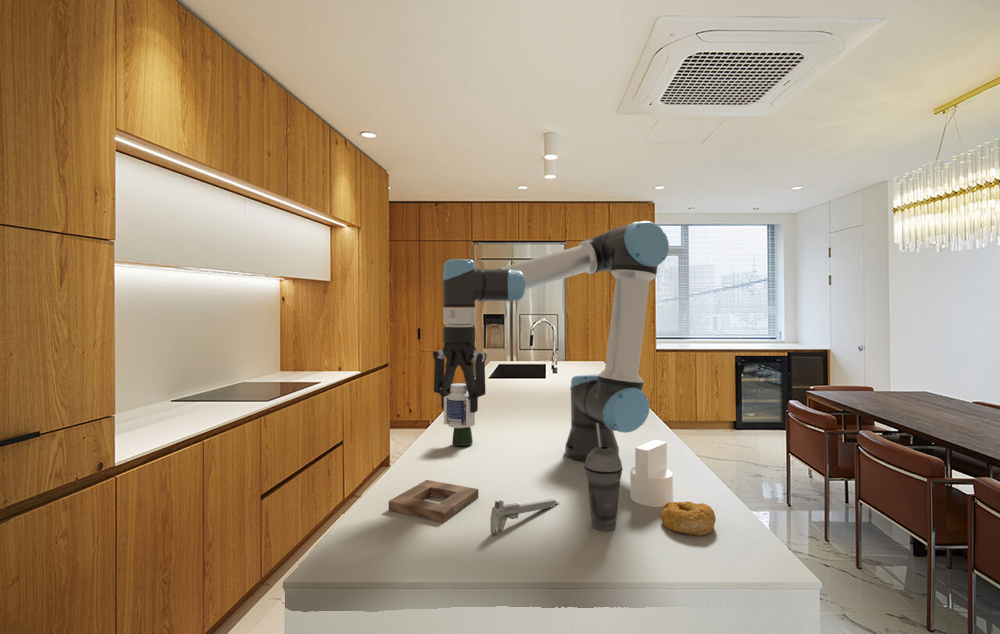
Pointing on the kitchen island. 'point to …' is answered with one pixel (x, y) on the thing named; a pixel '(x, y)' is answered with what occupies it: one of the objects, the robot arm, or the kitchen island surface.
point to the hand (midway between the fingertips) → (459, 424)
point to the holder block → (443, 511)
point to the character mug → (462, 436)
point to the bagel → (688, 518)
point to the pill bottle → (457, 405)
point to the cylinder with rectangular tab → (651, 475)
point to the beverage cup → (603, 485)
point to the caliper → (514, 512)
